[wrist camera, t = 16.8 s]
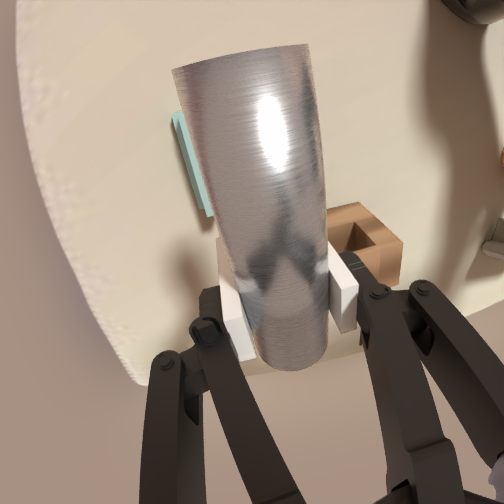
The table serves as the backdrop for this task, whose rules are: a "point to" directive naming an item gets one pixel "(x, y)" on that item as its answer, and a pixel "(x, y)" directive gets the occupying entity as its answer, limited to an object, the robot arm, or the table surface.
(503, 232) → the digital clock
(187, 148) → the cradle
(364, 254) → the tan wooden block
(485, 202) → the table surface
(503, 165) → the potted plant
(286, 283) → the axle
